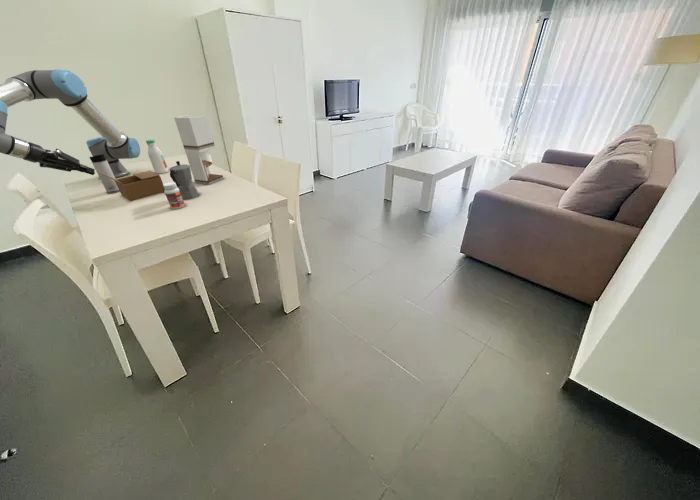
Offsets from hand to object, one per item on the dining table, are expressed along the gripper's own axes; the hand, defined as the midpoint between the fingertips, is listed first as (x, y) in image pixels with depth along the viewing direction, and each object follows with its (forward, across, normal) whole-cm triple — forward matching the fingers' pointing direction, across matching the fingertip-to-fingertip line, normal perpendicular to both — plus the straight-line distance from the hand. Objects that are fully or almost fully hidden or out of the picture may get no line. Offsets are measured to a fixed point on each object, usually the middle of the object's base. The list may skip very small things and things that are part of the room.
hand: (93, 172), depth 136 cm
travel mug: (+17, -13, +1) cm, 21 cm away
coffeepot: (+23, +30, -20) cm, 43 cm away
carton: (+20, +5, -8) cm, 22 cm away
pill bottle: (+14, +31, -29) cm, 45 cm away
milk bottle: (+46, -8, +23) cm, 52 cm away
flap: (+4, +4, -3) cm, 6 cm away
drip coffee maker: (+43, +29, -3) cm, 52 cm away
